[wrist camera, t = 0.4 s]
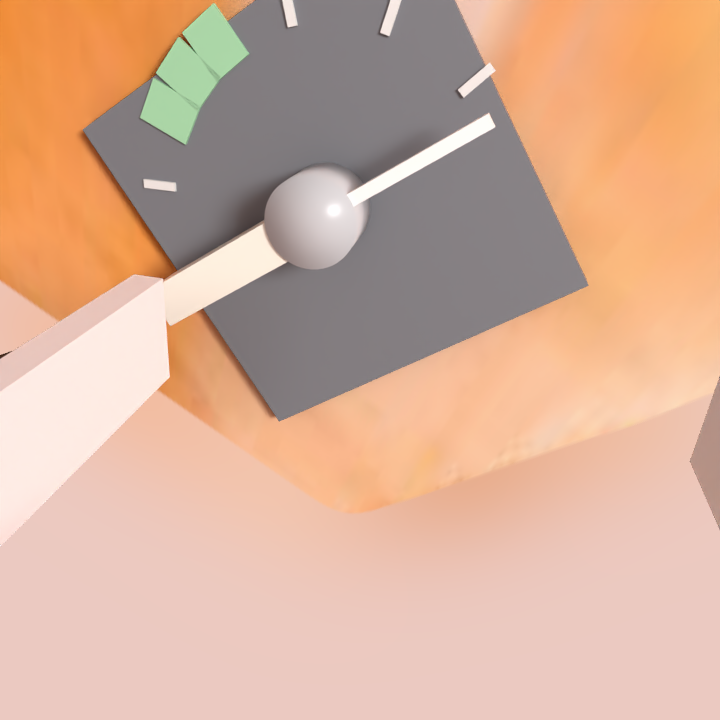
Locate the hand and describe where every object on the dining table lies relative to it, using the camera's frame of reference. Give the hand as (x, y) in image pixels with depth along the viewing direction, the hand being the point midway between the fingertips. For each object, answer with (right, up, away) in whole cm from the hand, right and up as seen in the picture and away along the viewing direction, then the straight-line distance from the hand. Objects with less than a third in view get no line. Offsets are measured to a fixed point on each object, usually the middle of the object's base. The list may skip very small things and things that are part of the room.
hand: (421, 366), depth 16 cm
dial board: (-3, +10, +24) cm, 26 cm away
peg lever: (-3, +9, +23) cm, 25 cm away
